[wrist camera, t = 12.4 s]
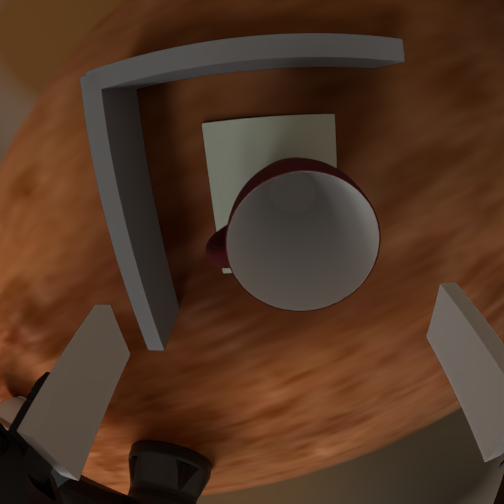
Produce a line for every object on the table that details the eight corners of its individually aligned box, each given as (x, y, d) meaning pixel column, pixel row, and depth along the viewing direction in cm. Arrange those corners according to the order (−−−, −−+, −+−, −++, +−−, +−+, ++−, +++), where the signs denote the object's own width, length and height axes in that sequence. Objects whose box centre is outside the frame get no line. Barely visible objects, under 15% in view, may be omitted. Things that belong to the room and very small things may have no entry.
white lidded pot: (63, 434, 49) (46, 474, 39) (17, 412, 48) (-2, 448, 38) (47, 401, 43) (24, 447, 33) (-2, 377, 42) (-27, 416, 33)
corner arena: (368, 298, 29) (385, 339, 24) (165, 309, 31) (148, 350, 26) (372, 50, 19) (402, 39, 14) (118, 76, 21) (79, 74, 16)
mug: (253, 268, 28) (244, 349, 19) (196, 194, 25) (156, 251, 16) (359, 207, 25) (402, 267, 16) (308, 121, 22) (334, 136, 13)
